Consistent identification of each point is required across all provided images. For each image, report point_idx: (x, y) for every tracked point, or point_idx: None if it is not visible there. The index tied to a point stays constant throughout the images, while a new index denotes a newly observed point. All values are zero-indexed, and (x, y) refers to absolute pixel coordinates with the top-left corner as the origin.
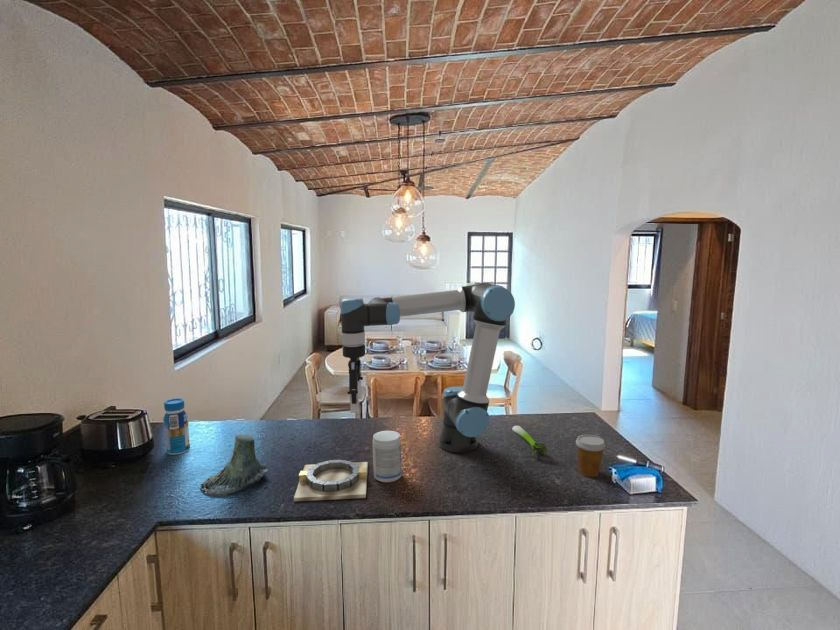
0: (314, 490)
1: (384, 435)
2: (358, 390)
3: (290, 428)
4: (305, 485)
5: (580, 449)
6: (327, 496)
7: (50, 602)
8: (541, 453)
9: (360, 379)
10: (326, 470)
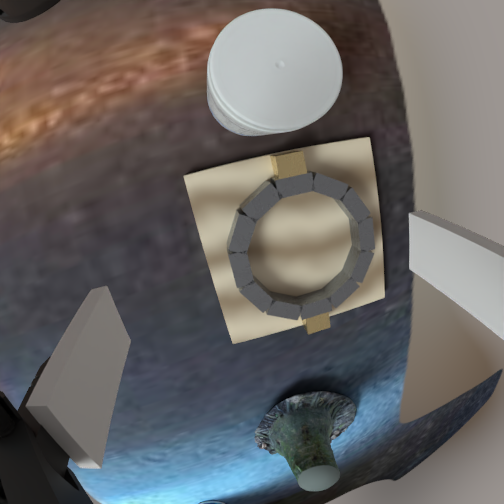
0: None
1: (280, 74)
2: (94, 353)
3: None
4: None
5: None
6: (380, 229)
7: (484, 393)
8: None
9: (23, 421)
10: (258, 280)
